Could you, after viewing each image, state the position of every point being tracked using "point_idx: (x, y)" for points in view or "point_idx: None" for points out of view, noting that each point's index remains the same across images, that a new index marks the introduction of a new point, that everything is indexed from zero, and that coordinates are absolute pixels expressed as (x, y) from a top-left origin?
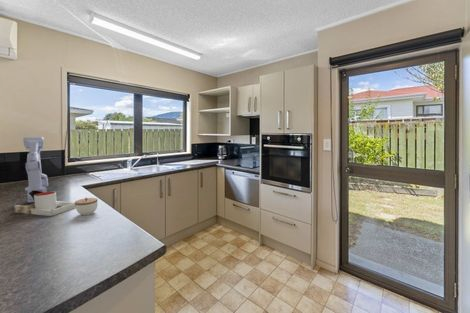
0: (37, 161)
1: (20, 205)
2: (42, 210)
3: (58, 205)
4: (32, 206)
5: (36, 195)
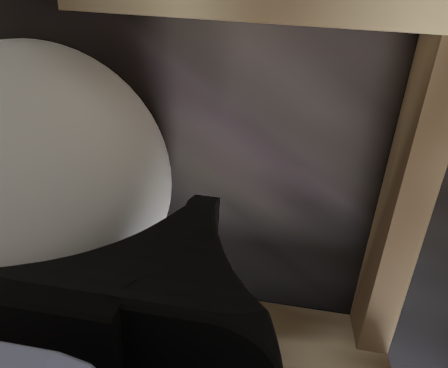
0: None
1: (384, 19)
2: None
3: None
4: (376, 230)
5: (10, 262)
